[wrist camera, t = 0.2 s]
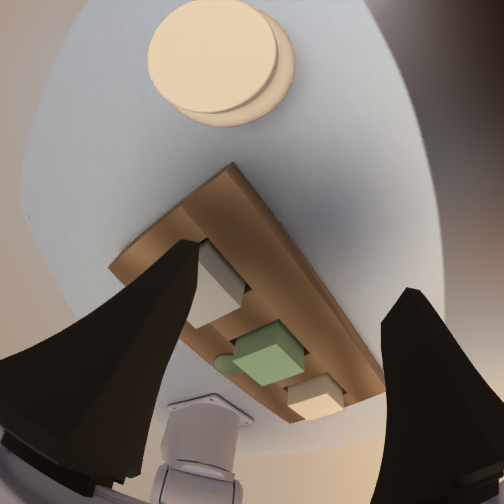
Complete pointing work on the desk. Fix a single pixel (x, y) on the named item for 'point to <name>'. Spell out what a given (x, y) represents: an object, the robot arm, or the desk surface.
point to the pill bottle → (221, 62)
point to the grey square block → (215, 287)
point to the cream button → (316, 397)
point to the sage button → (269, 353)
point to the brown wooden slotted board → (259, 291)
